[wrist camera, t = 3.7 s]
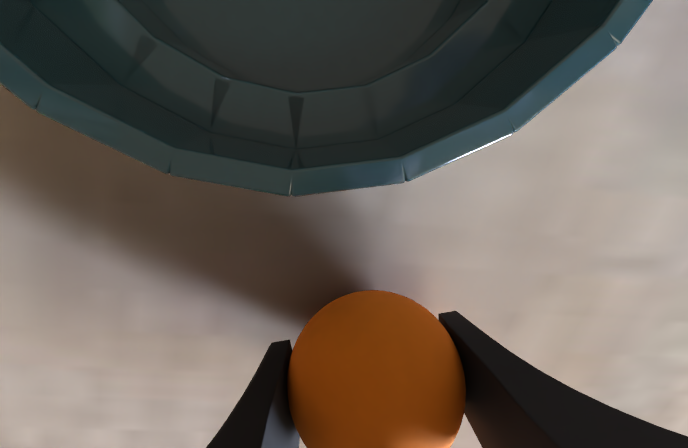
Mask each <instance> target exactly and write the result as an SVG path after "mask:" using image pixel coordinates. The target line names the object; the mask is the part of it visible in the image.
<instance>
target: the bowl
mask: <svg viewBox="0 0 688 448" xmlns="http://www.w3.org/2000/svg"><path fill="white" fill-rule="evenodd" d="M652 1H653V0H0V84H1V85H3V86H4V87H5V88H6V89H8V90H9V91H10V92H11V93H13V94H14V95H15V96H16V97H17V98H19V99H20V100H21V101H22V102H24V103H25V104H26V105H27V106H29V107H30V108H32V109H34V110H36V111H37V112H38V113H39V114H42V115H44V116H46V117H48V118H50V119H52V120H54V121H56V122H58V123H60V124H62V125H64V126H67V127H69V128H71V129H73V130H75V131H77V132H79V133H81V134H83V135H85V136H87V137H90V138H92V139H94V140H96V141H98V142H100V143H102V144H104V145H106V146H108V147H110V148H113V149H115V150H117V151H119V152H121V153H123V154H125V155H127V156H129V157H131V158H133V159H135V160H138V161H140V162H142V163H144V164H146V165H148V166H150V167H152V168H154V169H156V170H158V171H161V172H163V173H165V174H169V173H170V175H171V176H174V177H180V178H186V179H191V180H197V181H203V182H208V183H214V184H220V185H225V186H231V187H237V188H243V189H248V190H254V191H260V192H265V193H271V194H277V195H282V196H291V195H292V196H294V197H296V196H304V195H312V194H320V193H328V192H336V191H344V190H352V189H360V188H368V187H376V186H384V185H392V184H400V183H404V182H405V181H411V180H413V179H415V178H417V177H420V176H422V175H424V174H426V173H428V172H431V171H433V170H435V169H437V168H439V167H442V166H444V165H446V164H448V163H451V162H453V161H455V160H457V159H459V158H462V157H464V156H466V155H468V154H471V153H473V152H475V151H477V150H479V149H482V148H484V147H486V146H488V145H491V144H493V143H495V142H497V141H499V140H502V139H504V138H506V137H508V136H510V135H512V134H513V132H517V131H518V130H519V129H521V128H522V127H523V126H524V125H525V124H527V123H528V122H529V121H530V120H531V119H533V118H534V117H535V116H536V115H537V114H539V113H540V112H541V111H542V110H543V109H544V108H546V107H547V106H548V105H549V104H550V103H552V102H553V101H554V100H555V99H556V98H558V97H559V96H560V95H561V94H562V93H564V92H565V91H566V90H567V89H568V88H570V87H571V86H572V85H573V84H574V83H576V82H577V81H578V80H579V79H580V78H582V77H583V76H584V75H585V74H586V73H588V72H589V71H590V70H591V69H592V68H594V67H595V66H596V65H597V64H598V63H599V62H601V61H602V60H603V59H604V58H605V57H607V56H608V55H609V54H610V53H611V52H613V51H614V50H615V49H616V48H617V46H618V45H619V44H621V43H622V41H623V40H624V39H625V37H626V36H627V35H628V33H629V32H630V30H631V29H632V28H633V26H634V25H635V24H636V22H637V21H638V20H639V18H640V17H641V16H642V14H643V13H644V12H645V10H646V9H647V8H648V6H649V5H650V4H651V2H652Z"/></svg>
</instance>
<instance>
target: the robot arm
mask: <svg viewBox="0 0 688 448" xmlns="http://www.w3.org/2000/svg"><path fill="white" fill-rule="evenodd" d="M439 322H440V323H441V324H442V325H443V326H444V328H445V329H446V331H447V332H448V333H449V335H450V337H451V338H452V340H453V342H454V344H455V346H456V348H457V350H458V353H459V356H460V359H461V362H462V366H463V370H464V375H465V384H466V400H465V409H464V413H465V415H466V417H467V419H468V421H469V423H470V425H471V426H472V428H473V430H474V432H475V434H476V436H477V438H478V440H479V442H480V444H481V446H482V447H483V448H688V437H687V436H684V435H681V434H679V433H676V432H673V431H670V430H667V429H664V428H661V427H659V426H656V425H654V424H651V423H649V422H646V421H644V420H641V419H639V418H636V417H634V416H631V415H629V414H626V413H624V412H622V411H619V410H617V409H615V408H612V407H610V406H608V405H606V404H604V403H601V402H599V401H597V400H595V399H593V398H591V397H589V396H587V395H585V394H582V393H580V392H578V391H576V390H574V389H573V388H571V387H569V386H567V385H565V384H563V383H561V382H559V381H558V380H556V379H554V378H552V377H550V376H549V375H547V374H545V373H543V372H542V371H540V370H538V369H537V368H535V367H533V366H532V365H530V364H529V363H527V362H525V361H524V360H522V359H521V358H519V357H518V356H516V355H515V354H513V353H512V352H510V351H509V350H507V349H506V348H504V347H503V346H502V345H500V344H499V343H497V342H496V341H495V340H493V339H492V338H491V337H489V336H488V335H487V334H485V333H484V332H483V331H481V330H480V329H479V328H477V327H476V326H475V325H473V324H472V323H471V322H470V321H468V320H467V319H466V318H464V317H463V316H462V315H461V314H459V313H458V312H457V311H452V312H446V313H441V314H439ZM291 354H292V347H291V343H290V340H285V341H279V342H273V343H271V345H270V346H269V348H268V350H267V352H266V354H265V356H264V358H263V360H262V362H261V364H260V366H259V367H258V369H257V371H256V373H255V375H254V377H253V378H252V380H251V382H250V383H249V385H248V387H247V389H246V390H245V392H244V394H243V395H242V397H241V399H240V400H239V402H238V403H237V405H236V406H235V408H234V409H233V411H232V412H231V414H230V415H229V417H228V419H227V420H226V421H225V423H224V424H223V426H222V427H221V429H220V430H219V431H218V433H217V434H216V435H215V437H214V438H213V439H212V441H211V442H210V443H209V445H208V446H207V447H206V448H299V438H300V435H299V433H298V431H297V429H296V427H295V425H294V422H293V419H292V416H291V412H290V409H289V402H288V393H287V375H288V366H289V361H290V357H291Z"/></svg>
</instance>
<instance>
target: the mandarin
mask: <svg viewBox="0 0 688 448" xmlns="http://www.w3.org/2000/svg"><path fill="white" fill-rule="evenodd" d="M287 393H288V402H289V409H290V412H291V416H292V419H293V422H294V425H295V427H296V429H297V431H298V433H299V435H300V437H301V439H302V441H303V442H304V444H305V445H306V447H307V448H450V447H451V445H452V443H453V441H454V439H455V437H456V435H457V433H458V431H459V428H460V425H461V422H462V418H463V414H464V409H465V400H466V384H465V375H464V370H463V366H462V362H461V359H460V356H459V353H458V350H457V348H456V346H455V344H454V342H453V340H452V338H451V337H450V335H449V333H448V332H447V331H446V329H445V328H444V326H443V325H442V324H441V323H440V322H439V320H438V319H437V318H436V317H435V316H434V315H433V314H432V313H430V312H429V311H428V310H427V309H426V308H424V307H423V306H421V305H420V304H418V303H416V302H415V301H413V300H411V299H409V298H407V297H405V296H402V295H399V294H395V293H392V292H387V291H379V290H368V291H360V292H354V293H351V294H347V295H344V296H342V297H340V298H337V299H335V300H334V301H332V302H330V303H328V304H327V305H326V306H324V307H323V308H322V309H321V310H319V311H318V312H317V313H316V314H315V315H314V316H313V317H312V318H311V319H310V320H309V322H308V323H307V324H306V325H305V327H304V329H303V330H302V332H301V334H300V335H299V337H298V339H297V341H296V343H295V346H294V348H293V351H292V354H291V357H290V361H289V366H288V375H287Z"/></svg>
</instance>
